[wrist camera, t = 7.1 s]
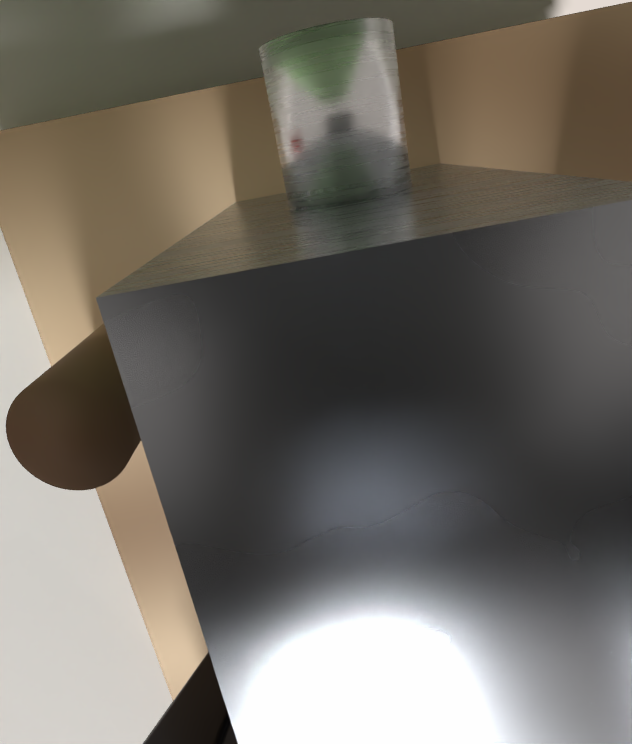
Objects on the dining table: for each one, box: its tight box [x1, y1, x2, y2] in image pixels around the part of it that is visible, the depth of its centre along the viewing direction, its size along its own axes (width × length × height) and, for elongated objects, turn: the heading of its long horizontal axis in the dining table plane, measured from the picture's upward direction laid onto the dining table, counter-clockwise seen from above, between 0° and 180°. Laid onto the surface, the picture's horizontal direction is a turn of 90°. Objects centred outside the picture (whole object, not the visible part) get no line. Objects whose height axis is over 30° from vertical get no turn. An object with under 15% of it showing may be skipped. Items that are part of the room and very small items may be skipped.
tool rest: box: [0, 2, 632, 701], centre depth 10 cm, size 15×10×4 cm, turn 10°
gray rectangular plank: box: [96, 18, 632, 744], centre depth 8 cm, size 13×3×6 cm, turn 10°
